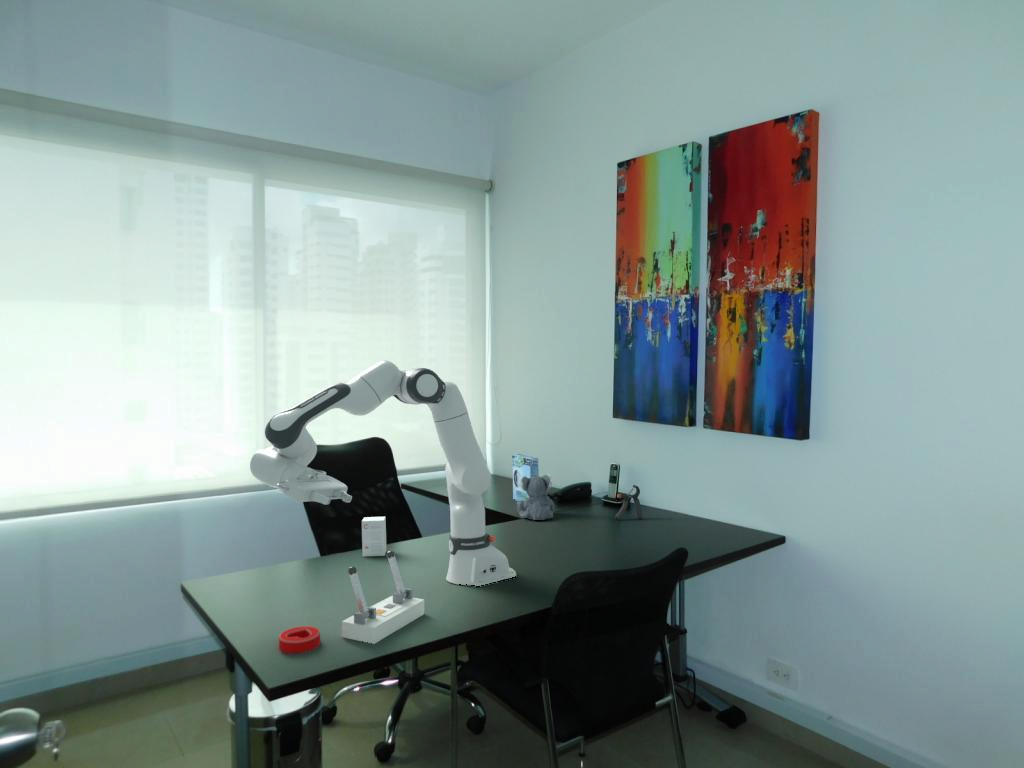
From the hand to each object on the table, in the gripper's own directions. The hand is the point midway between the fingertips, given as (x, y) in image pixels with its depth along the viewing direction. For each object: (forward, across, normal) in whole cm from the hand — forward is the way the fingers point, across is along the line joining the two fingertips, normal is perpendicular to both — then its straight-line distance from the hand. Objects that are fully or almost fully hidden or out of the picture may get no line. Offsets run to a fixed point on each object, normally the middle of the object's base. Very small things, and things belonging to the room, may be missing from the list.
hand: (339, 500), depth 177 cm
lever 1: (+19, -2, +23) cm, 30 cm away
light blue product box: (-3, +167, +12) cm, 168 cm away
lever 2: (+20, +14, +20) cm, 32 cm away
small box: (-19, +64, +32) cm, 74 cm away
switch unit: (+21, +7, +27) cm, 35 cm away
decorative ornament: (+9, -11, +34) cm, 37 cm away
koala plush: (+14, +137, +11) cm, 138 cm away
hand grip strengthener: (+51, +146, -2) cm, 154 cm away
